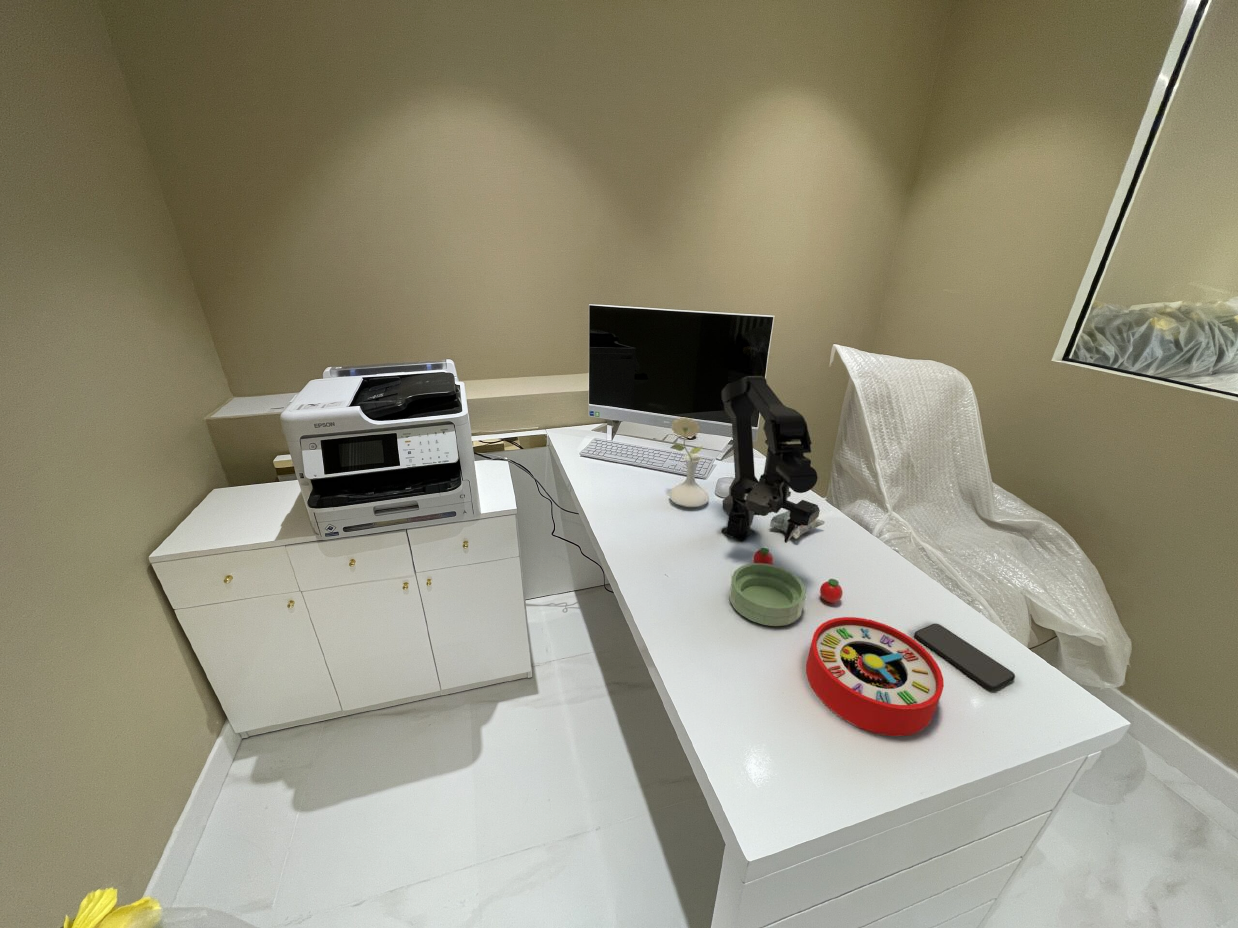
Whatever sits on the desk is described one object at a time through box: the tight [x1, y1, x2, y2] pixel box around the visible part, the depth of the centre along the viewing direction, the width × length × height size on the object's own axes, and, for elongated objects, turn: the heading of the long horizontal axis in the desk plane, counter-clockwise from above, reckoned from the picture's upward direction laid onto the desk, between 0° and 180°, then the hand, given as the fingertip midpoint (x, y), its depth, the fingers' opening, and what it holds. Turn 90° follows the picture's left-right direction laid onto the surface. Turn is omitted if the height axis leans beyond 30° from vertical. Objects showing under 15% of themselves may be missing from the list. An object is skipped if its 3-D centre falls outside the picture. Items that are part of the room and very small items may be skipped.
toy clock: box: [805, 616, 945, 737], centre depth 85 cm, size 20×6×20 cm
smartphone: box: [913, 623, 1016, 691], centre depth 92 cm, size 7×1×15 cm
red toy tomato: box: [819, 578, 844, 604], centre depth 105 cm, size 4×4×5 cm
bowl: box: [728, 562, 807, 627], centre depth 104 cm, size 15×15×5 cm
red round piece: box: [752, 547, 774, 565], centre depth 115 cm, size 4×4×5 cm
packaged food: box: [769, 510, 826, 540], centre depth 131 cm, size 9×12×5 cm
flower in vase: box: [668, 416, 710, 508], centre depth 140 cm, size 13×11×25 cm
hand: (767, 533), depth 113 cm, fingers open, 9 cm apart
